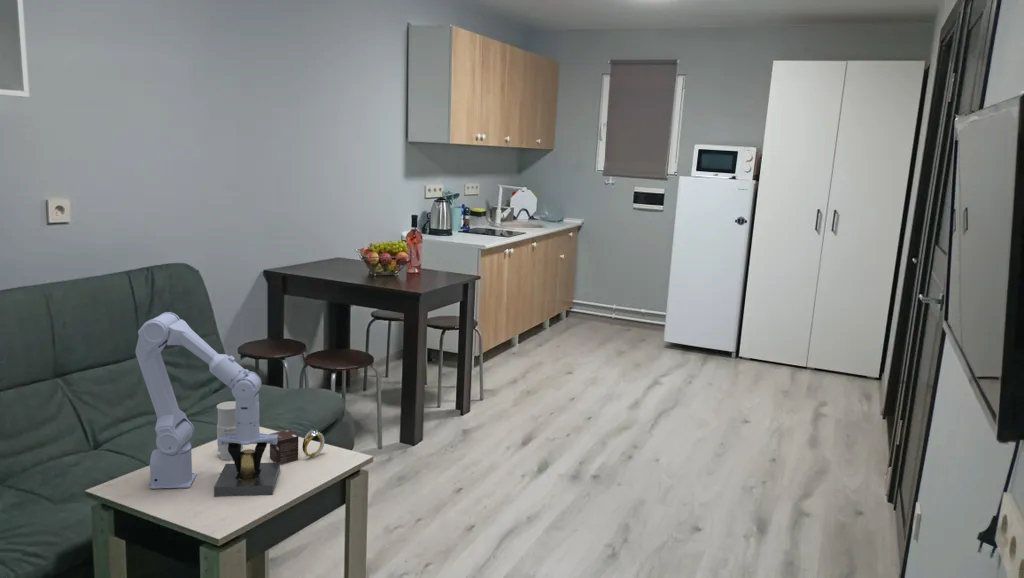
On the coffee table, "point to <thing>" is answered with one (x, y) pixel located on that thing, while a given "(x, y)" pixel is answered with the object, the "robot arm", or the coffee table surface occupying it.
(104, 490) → the coffee table surface
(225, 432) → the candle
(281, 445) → the box
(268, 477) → the block
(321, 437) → the ring
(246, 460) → the brass shaft
